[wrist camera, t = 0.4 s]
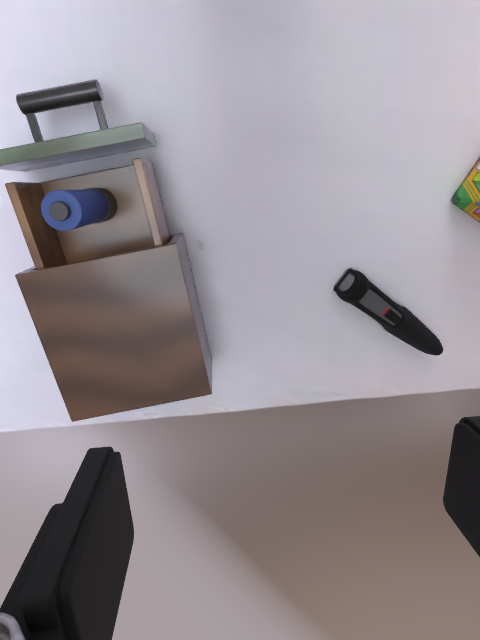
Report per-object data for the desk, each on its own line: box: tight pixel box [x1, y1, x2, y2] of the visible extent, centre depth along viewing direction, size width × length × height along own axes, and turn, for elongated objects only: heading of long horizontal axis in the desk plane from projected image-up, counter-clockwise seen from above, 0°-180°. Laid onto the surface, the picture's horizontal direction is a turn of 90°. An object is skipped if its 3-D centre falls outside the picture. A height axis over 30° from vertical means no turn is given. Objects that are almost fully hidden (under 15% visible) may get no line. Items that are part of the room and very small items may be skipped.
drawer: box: [0, 80, 171, 270], centre depth 37 cm, size 19×14×7 cm
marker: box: [41, 188, 117, 231], centre depth 34 cm, size 3×3×12 cm
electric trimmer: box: [334, 269, 443, 355], centre depth 46 cm, size 4×16×3 cm, turn 54°
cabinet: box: [15, 233, 212, 422], centre depth 41 cm, size 16×15×9 cm
